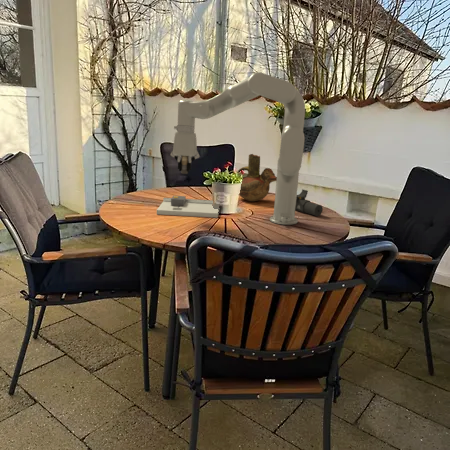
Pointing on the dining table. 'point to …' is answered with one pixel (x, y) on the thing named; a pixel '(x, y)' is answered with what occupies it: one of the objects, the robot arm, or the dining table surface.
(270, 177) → the ceramic vessel
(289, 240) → the dining table surface
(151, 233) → the dining table surface
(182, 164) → the tan cylinder
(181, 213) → the wall panel
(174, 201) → the block
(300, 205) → the laser sight
